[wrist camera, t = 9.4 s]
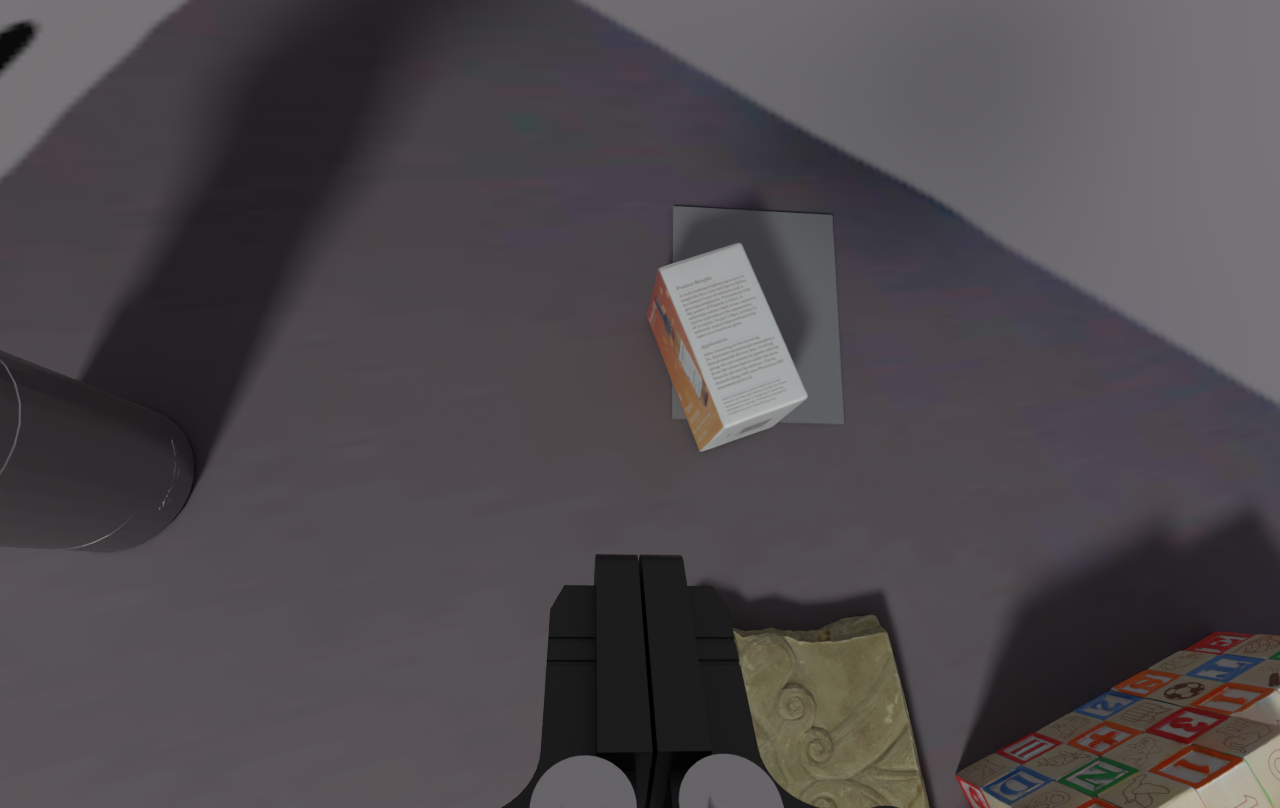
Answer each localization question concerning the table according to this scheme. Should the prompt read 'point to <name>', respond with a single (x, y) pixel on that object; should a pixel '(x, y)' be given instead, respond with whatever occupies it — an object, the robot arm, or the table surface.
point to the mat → (782, 291)
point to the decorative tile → (832, 714)
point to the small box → (722, 347)
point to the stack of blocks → (1155, 739)
